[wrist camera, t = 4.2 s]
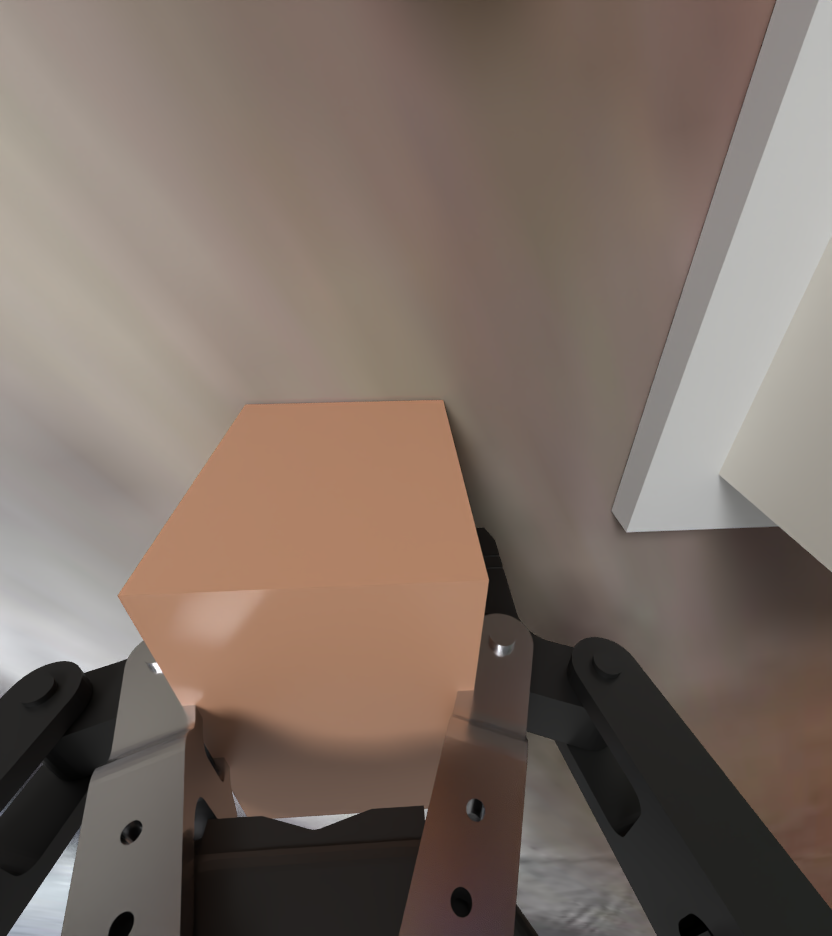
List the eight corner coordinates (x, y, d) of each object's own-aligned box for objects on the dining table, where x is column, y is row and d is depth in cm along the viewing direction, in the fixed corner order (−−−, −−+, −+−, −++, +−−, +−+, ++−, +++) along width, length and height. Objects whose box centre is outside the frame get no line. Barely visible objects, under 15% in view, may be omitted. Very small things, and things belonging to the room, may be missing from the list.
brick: (435, 604, 15) (458, 806, 10) (295, 610, 15) (249, 820, 10) (443, 399, 11) (488, 579, 6) (245, 404, 11) (116, 595, 6)
